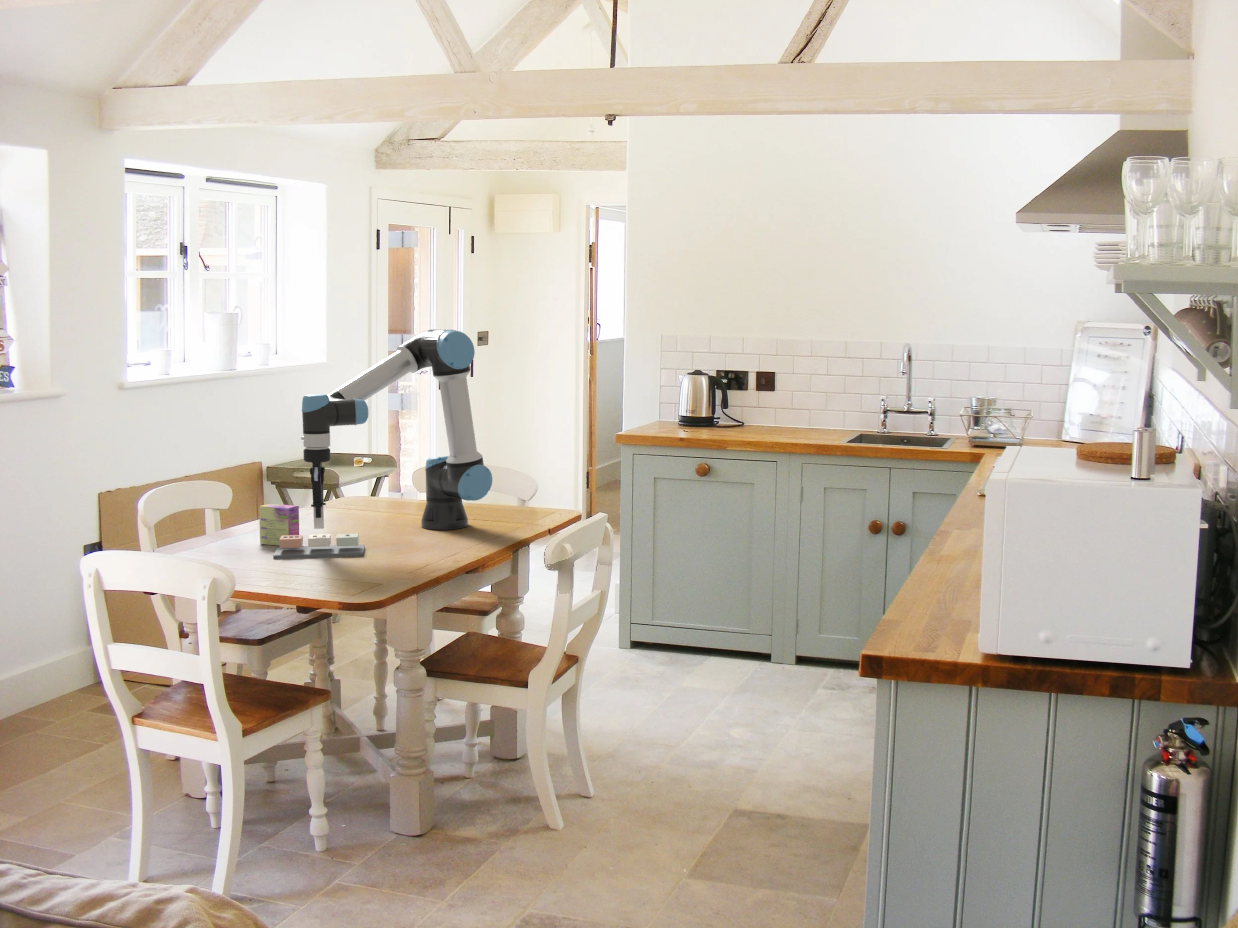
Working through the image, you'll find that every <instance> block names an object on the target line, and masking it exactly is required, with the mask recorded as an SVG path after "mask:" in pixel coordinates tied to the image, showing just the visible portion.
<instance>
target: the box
mask: <svg viewBox="0 0 1238 928" xmlns="http://www.w3.org/2000/svg"><path fill="white" fill-rule="evenodd" d="M258 509H259V510H258V511H259V512H258V514H259V517H258V518H259V519H258V520H259V543H260V545H269V546H271V545H272V546H278V547H280V542H279V539H280V538H281V536H283V535H300V510H299V509H300V507H299V505H293V504H292V505H291V504H279V503H265V504H263V505H262V504H261V505H259V507H258Z"/></svg>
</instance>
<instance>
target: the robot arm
mask: <svg viewBox="0 0 1238 928" xmlns="http://www.w3.org/2000/svg"><path fill="white" fill-rule="evenodd" d="M475 351H476V350H475V346H474V343H473V341H472V339H471V338H470V337H469V336H468V335H467V334H466V333H464V332H462V331H459V330H456V329H455V330H454V329H428V330H425V331H422V332H420V333H418V334H417V335H415V336H413V337H411V338H410V339H408V340H407V341H405V342H403V343H402V344H400V345H398V346H397V347H396V352H394V353H392V354H390V355H388V356H387V357H386V358H384V359H382V360H381V361H379V362H378V363H376V364H375V365H373V366H371V367H370V368H368V369H366V370H365V371H363V372H361V373H360V374H358V375H357V376H355V377H354V378H351V379H350V380H349V381H347V382H346V383H344V384H342V385H341V386H339V387H338V388H336V389H334V390H332V391H330V392H329V393H328V394H326V393H310V394H309V393H308V394H305V395H303V397H302V401H301V402H302V403H301V412H302V413H301V414H302V436H301V438H300V439H301V440H303V442H302V443H303V444H302V445H303V447H304V449H303V461H304V462H305V463H311V464H312V467H310V468H309V474H310V483H311V488H312V489H311V490H312V504H311V503H310V507H311V508H313V529H314V530H315V529H316V530H318V529H319V530H320V529H322V530H323V529H325V519H324V517H325V516H324V515H325V514H324V506H326V505H327V504H326V502H324V501H325V499H324V482H325V472H326V468H325V466H323V463H326V462H330V461H331V449H330V448H329V447H330V446H331V427H338V426H358V425H362V424H366V422H367V421H368V419H369V407H368V404H367V402H366V400H368V399H369V398H371V397H372V396H374V395H376V394H377V393H379V392H381V391H382V390H384V389H385V388H387V387H389V385H392V384H393V383H394V382H396V381H398V380H400V379H401V378H403V377H404V376H406V375H408V374H409V373H411V374H416V373H417V372H418V371H420V370H422V369H425V368H429V367H431V369H432V376H433V377H434V378H435V379H436V380H437V381H438V382H439V390H440V396H441V397H440V398H441V403H442V404H441V405H442V410H443V416H444V424H445V425H444V426H445V431H446V437H447V443H448V449H449V450H448V451H449V455H447V456H435V457H428V458H427V459H426V462H425V468H424V469H425V494H426V497H425V498H426V501H425V502H426V503H425V504H426V505H425V506H424V510H423V513H422V517H421V525H420V526H421V528H423V529H427V530H437V531H438V530H441V531H442V530H459V529H464V528H466V527H468V525H469V517H468V516H467V511H466V510H465V507H464V503H463V500H464V501H469V502H471V501H472V502H473V501H479V500H482V499H483V498H484V497H485V496H487V495H488V493H489V492H490V490H491V488H492V485H493V475H492V471H491V470H490V469H489V468H488V467H487V466H486V465H485V464H484V459H483V454H482V453H480V452H479V451H478V450H477V444H476V443H477V442H476V437H475V436H476V434H475V428H474V422H473V416H472V406H471V401H470V393H469V386H468V381H467V380H468V379H467V377H468V375H469V374H470V373H471V366H470V365H471V364H472V362H473V360H474V358H475V354H476V353H475Z"/></svg>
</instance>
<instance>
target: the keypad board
mask: <svg viewBox="0 0 1238 928" xmlns="http://www.w3.org/2000/svg"><path fill="white" fill-rule="evenodd" d="M364 552H365V544H358V546H337V544H334V545H331V544H330V547H308V545H306V546H305V545H304V546H303V545H302V547H297V548H280V546H278V547H277V548H276V550H275V552H274V553H273V557H272V558H273V560H276V559H277V560H281V559H284V560H285V559H309V558H310V559H312V558H317V559H318V558H343V557H345V558H346V557H364Z"/></svg>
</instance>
